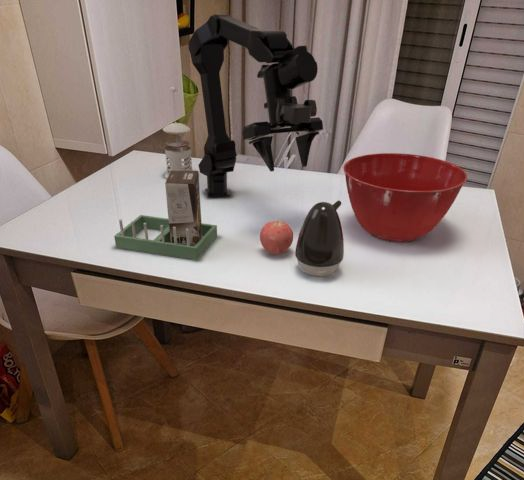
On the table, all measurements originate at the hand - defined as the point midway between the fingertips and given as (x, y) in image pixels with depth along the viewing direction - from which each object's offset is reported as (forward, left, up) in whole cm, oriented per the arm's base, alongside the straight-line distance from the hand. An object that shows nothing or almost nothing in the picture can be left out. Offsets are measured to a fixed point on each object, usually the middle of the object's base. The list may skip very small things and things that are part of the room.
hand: (288, 169), depth 114 cm
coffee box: (+3, -25, -16) cm, 29 cm away
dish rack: (+1, -29, -16) cm, 33 cm away
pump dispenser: (+21, +2, -16) cm, 26 cm away
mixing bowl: (+4, +27, -16) cm, 31 cm away
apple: (+11, -5, -16) cm, 20 cm away
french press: (-48, -22, -16) cm, 55 cm away
